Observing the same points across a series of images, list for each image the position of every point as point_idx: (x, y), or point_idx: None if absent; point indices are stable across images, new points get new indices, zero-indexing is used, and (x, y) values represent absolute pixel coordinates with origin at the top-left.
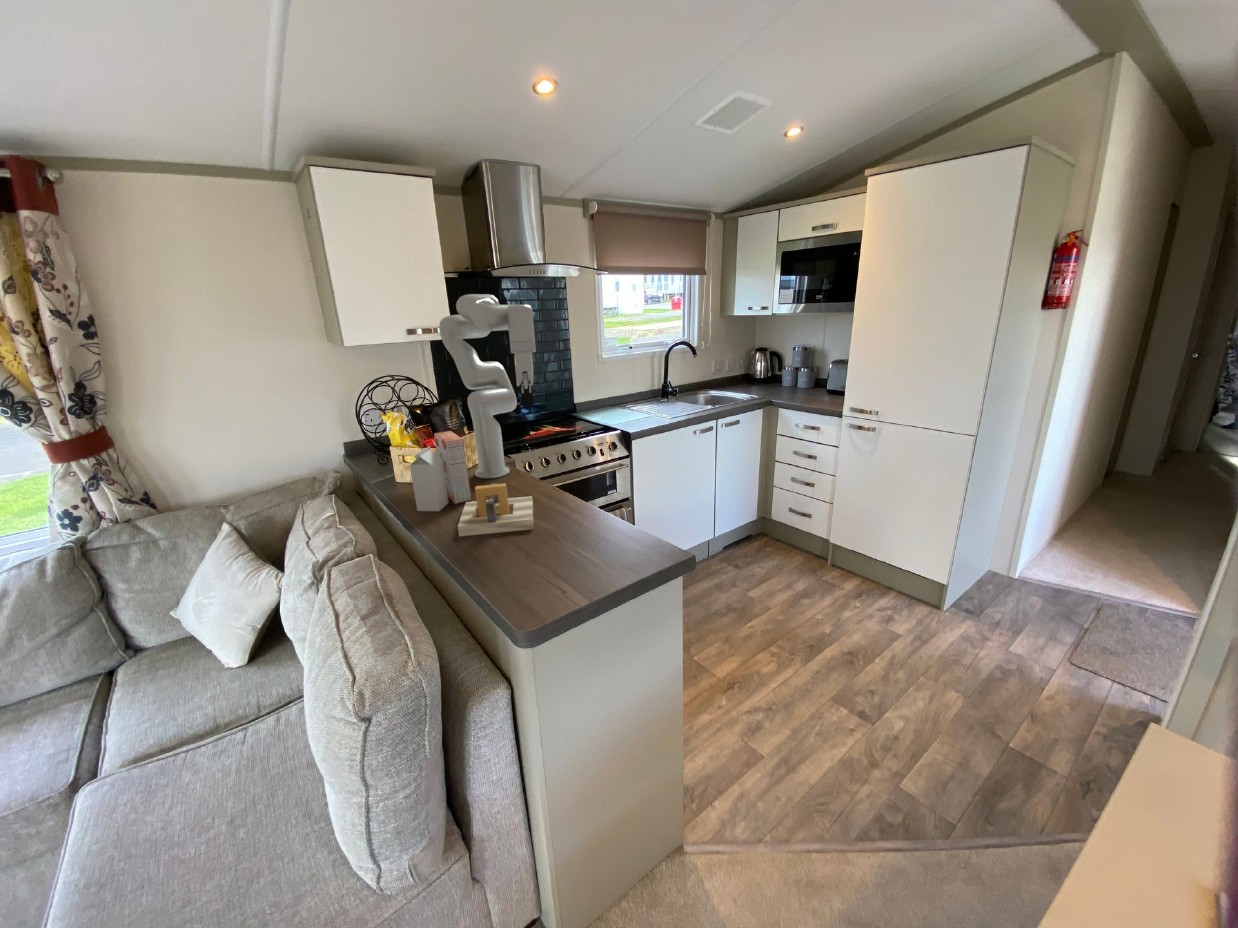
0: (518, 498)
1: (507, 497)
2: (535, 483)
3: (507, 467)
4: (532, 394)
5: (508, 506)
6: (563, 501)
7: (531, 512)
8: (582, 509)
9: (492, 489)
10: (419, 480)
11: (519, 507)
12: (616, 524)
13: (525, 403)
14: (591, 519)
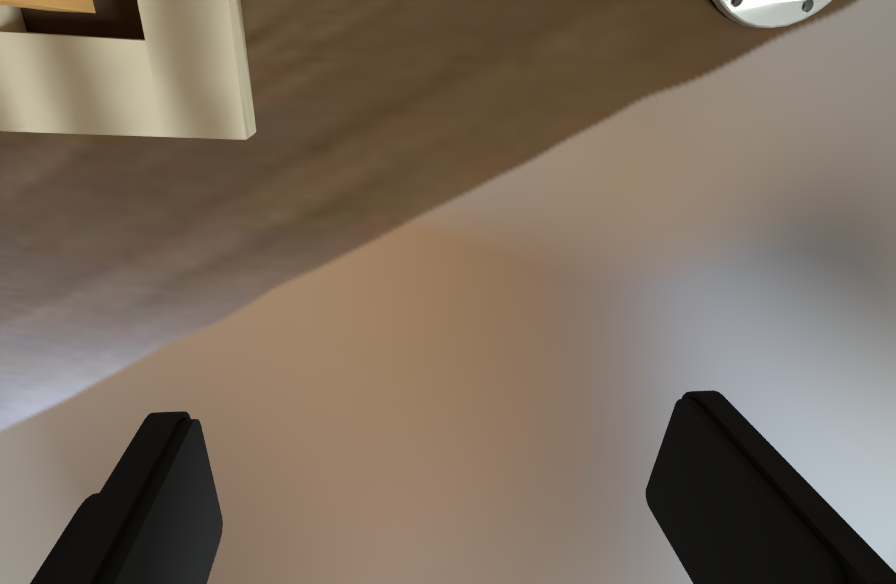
0: (221, 68)
1: (39, 6)
2: (531, 153)
3: (796, 17)
4: (700, 579)
5: (60, 9)
6: (281, 255)
7: (22, 127)
8: (187, 313)
9: None
10: None
11: (90, 70)
12: (44, 398)
13: (90, 497)
14: (87, 333)
